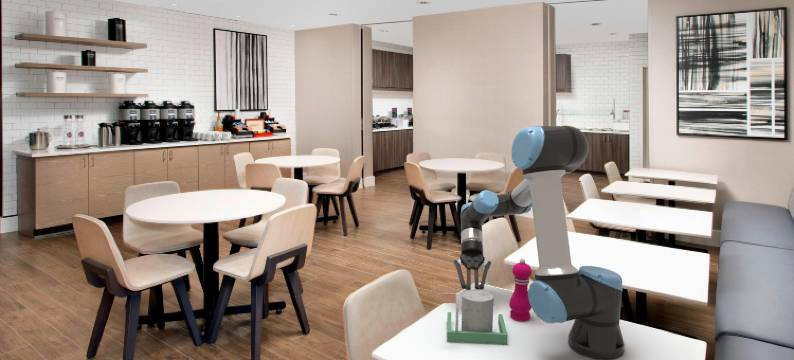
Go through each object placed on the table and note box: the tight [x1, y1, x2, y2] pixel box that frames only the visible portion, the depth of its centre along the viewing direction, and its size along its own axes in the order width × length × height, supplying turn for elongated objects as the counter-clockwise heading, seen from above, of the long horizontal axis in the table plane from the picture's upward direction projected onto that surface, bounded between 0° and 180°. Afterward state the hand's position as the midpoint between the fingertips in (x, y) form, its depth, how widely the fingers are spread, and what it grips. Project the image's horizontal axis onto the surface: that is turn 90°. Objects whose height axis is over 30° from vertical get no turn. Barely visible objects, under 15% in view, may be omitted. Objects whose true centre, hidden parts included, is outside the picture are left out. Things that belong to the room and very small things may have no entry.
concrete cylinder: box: [460, 289, 495, 332], centre depth 155 cm, size 10×10×12 cm
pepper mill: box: [508, 258, 532, 322], centre depth 166 cm, size 7×7×20 cm
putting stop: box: [442, 292, 509, 345], centre depth 156 cm, size 19×14×15 cm
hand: (473, 308), depth 166 cm, fingers closed
